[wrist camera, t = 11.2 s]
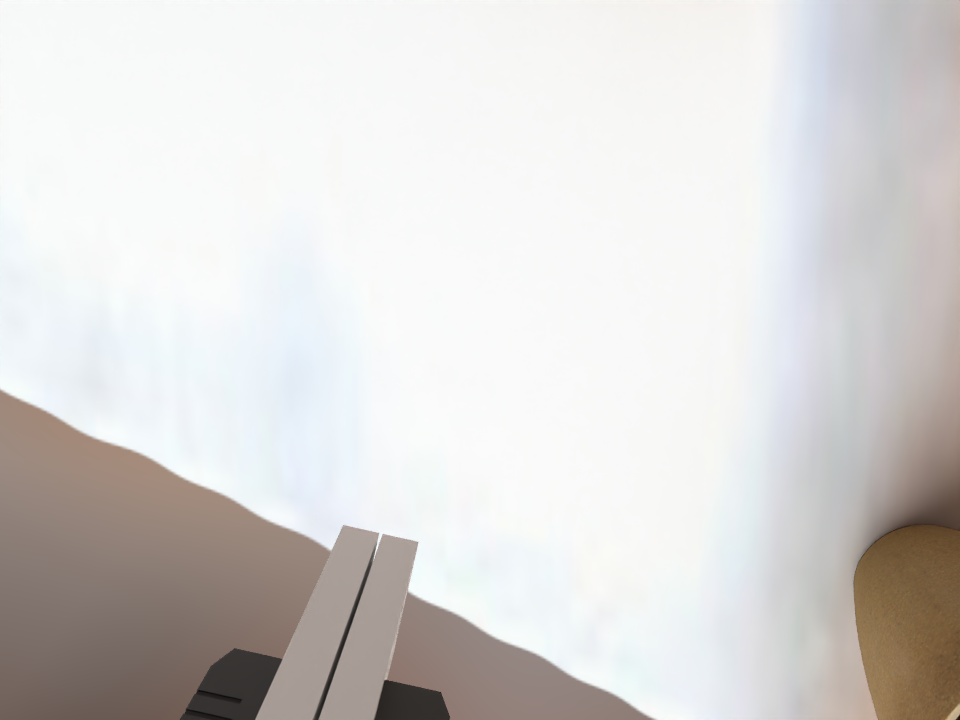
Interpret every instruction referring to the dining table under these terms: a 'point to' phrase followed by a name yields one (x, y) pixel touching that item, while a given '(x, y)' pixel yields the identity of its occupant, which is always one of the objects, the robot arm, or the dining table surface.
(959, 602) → the plant pot
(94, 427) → the dining table surface
